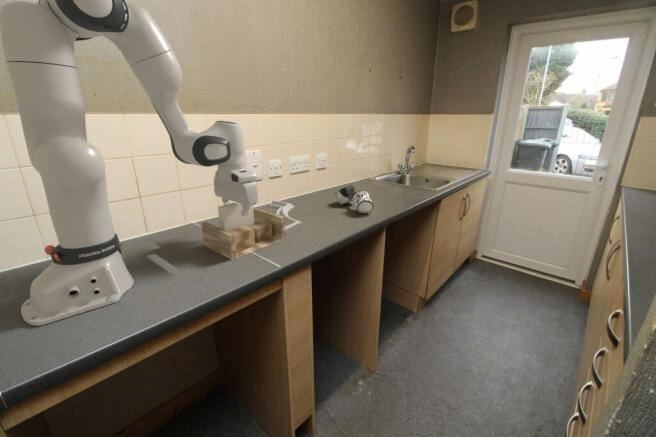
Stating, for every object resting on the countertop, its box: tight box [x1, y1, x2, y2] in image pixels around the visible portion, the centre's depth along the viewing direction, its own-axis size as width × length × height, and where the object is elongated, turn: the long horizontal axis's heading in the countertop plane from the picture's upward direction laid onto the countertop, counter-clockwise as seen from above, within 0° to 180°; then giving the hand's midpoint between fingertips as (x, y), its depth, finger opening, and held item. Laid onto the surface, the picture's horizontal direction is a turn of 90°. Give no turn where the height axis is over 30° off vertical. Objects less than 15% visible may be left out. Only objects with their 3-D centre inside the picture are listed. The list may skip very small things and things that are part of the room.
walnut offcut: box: [250, 222, 273, 243], centre depth 108 cm, size 6×4×5 cm, turn 140°
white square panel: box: [217, 202, 255, 231], centre depth 107 cm, size 12×2×13 cm, turn 140°
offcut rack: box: [200, 207, 287, 261], centre depth 105 cm, size 22×16×10 cm
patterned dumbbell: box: [334, 184, 374, 215], centre depth 147 cm, size 25×10×10 cm, turn 28°
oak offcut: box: [228, 226, 255, 253], centre depth 101 cm, size 8×5×6 cm, turn 140°
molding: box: [268, 199, 303, 231], centre depth 136 cm, size 42×12×3 cm, turn 14°
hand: (236, 212), depth 106 cm, fingers open, 8 cm apart
